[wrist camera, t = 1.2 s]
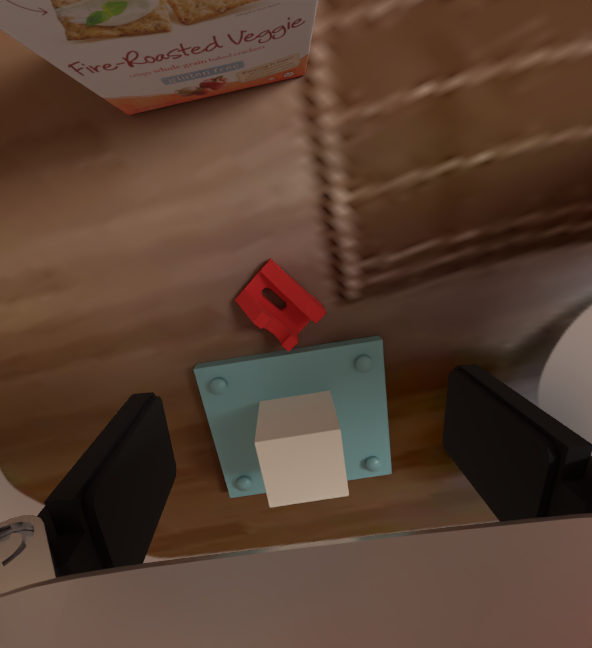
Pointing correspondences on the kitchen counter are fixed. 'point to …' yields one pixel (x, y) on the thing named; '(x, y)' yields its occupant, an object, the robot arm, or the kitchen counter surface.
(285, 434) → the base block
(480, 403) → the robot arm
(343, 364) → the baseplate
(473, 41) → the kitchen counter surface
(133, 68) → the cracker box
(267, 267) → the bracket
